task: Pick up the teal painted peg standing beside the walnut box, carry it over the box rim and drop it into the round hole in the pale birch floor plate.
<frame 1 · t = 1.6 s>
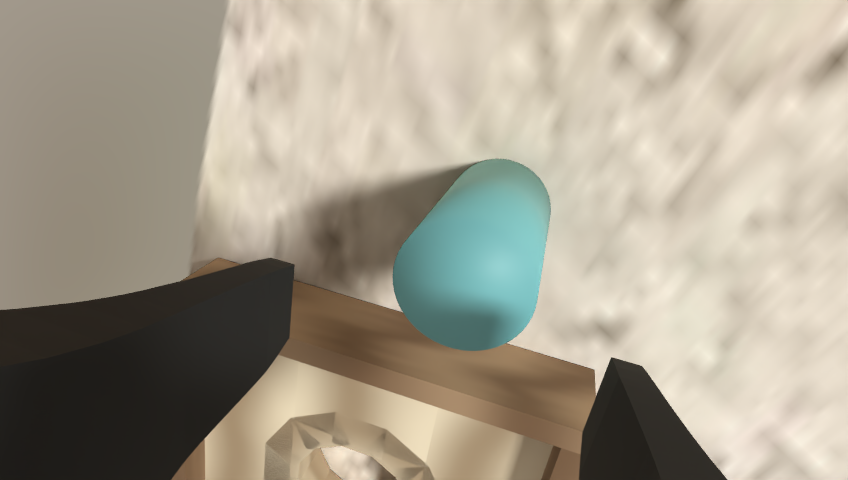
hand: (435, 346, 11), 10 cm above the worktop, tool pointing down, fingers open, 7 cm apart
walnut box: (369, 455, 27), on the worktop
peg: (498, 209, 20), on the worktop
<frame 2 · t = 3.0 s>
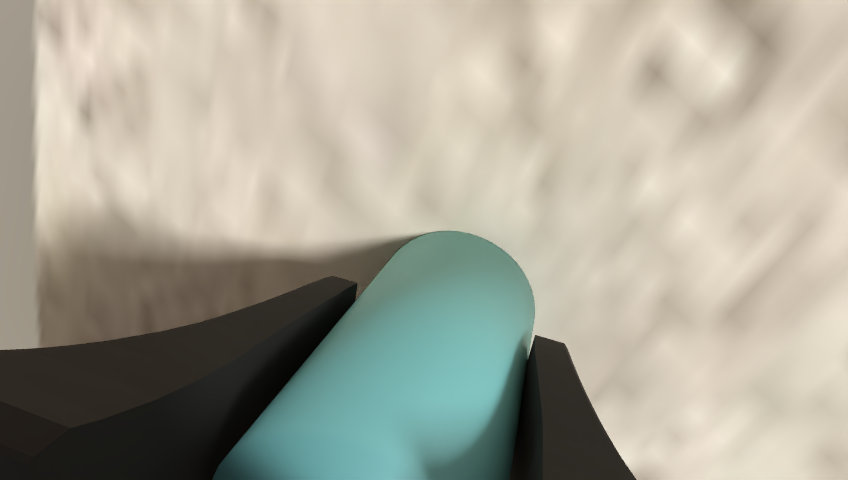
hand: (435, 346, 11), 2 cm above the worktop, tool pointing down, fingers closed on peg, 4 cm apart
peg: (454, 304, 13), on the worktop, touching gripper
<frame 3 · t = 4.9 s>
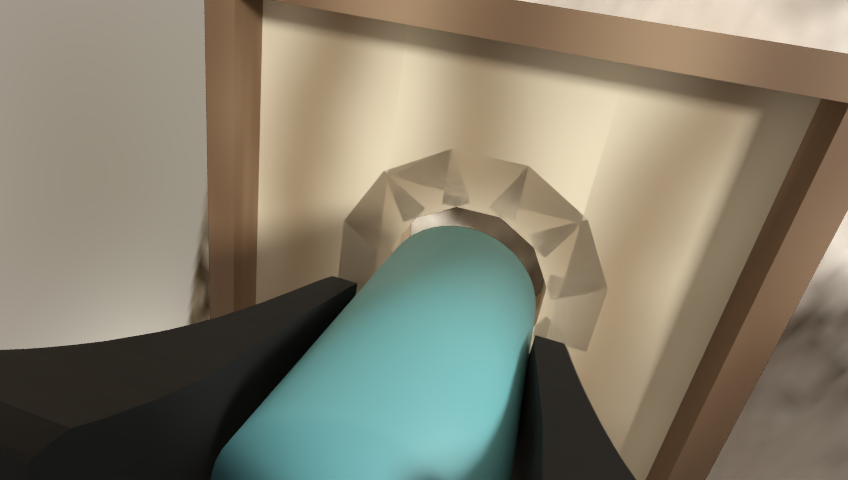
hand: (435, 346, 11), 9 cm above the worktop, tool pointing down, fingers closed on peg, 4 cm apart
walnut box: (475, 257, 20), on the worktop
peg: (455, 300, 13), point 7 cm above the worktop, touching gripper
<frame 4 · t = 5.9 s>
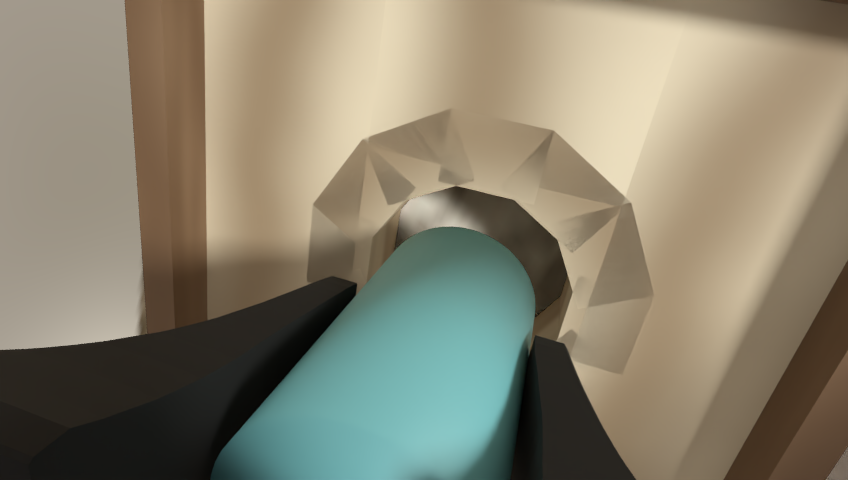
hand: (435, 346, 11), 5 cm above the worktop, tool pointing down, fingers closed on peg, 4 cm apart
walnut box: (479, 252, 16), on the worktop
peg: (455, 301, 13), point 3 cm above the worktop, touching gripper
when the fingers open (4 cm above the worktop, at t = 6.7 s): peg drops 2 cm, resting in walnut box.
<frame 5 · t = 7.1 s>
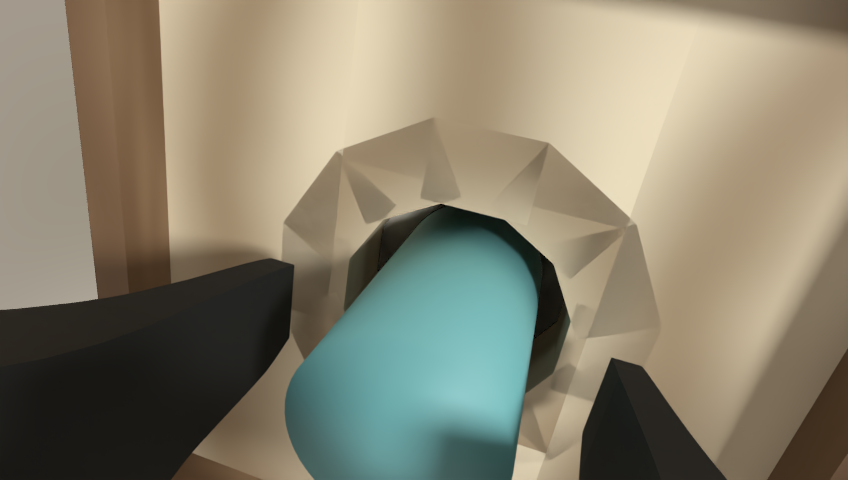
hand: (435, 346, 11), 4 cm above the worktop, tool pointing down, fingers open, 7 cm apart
walnut box: (469, 272, 15), on the worktop
peg: (471, 269, 15), resting in walnut box
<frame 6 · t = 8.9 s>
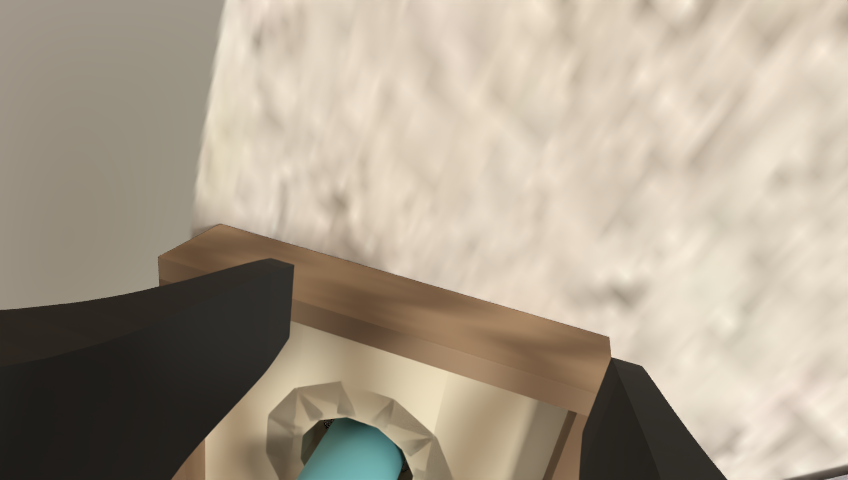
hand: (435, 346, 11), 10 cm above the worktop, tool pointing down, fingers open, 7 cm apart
walnut box: (374, 429, 26), on the worktop
peg: (375, 428, 26), resting in walnut box
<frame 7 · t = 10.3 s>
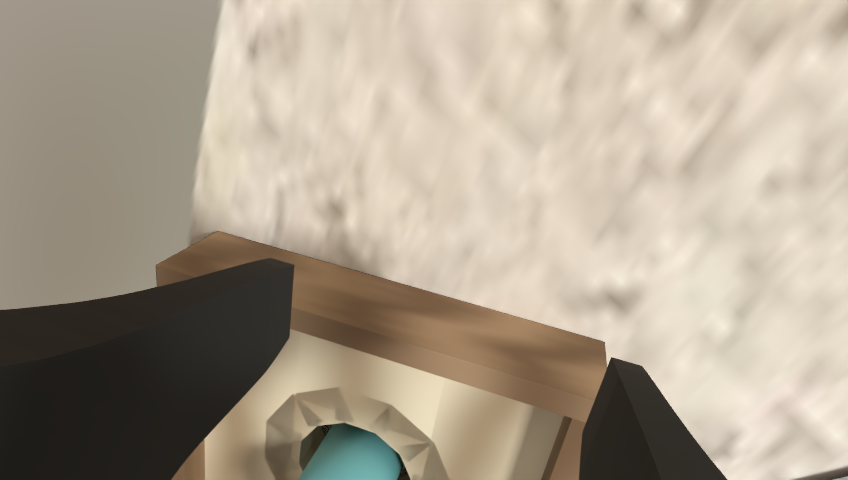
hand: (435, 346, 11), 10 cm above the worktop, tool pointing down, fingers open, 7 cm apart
walnut box: (372, 434, 26), on the worktop
peg: (373, 433, 26), resting in walnut box
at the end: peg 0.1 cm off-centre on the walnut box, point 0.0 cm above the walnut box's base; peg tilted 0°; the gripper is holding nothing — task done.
